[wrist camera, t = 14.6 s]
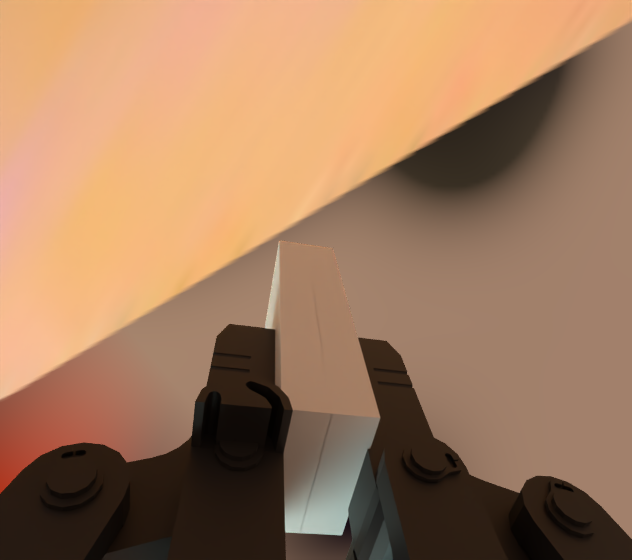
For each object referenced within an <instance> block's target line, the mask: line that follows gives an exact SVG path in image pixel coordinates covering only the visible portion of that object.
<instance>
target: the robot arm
mask: <svg viewBox="0 0 632 560" xmlns="http://www.w3.org/2000/svg"><path fill="white" fill-rule="evenodd" d="M348 515H349V520H350V526H351V532H352V539H353V540H352V543H351V546H350V549H349V552H348V555H347V558H346V560H632V539H631V538H630V537H629V536H628V535H627V534H626V533H625V532H624V530H623V529H622V528H621V527H620V526H619V525H618V524H617V523H616V522H615V521H614V520H613V519H612V518H611V517H610V515H609V514H608V513H607V512H606V511H605V510H604V509H603V508H602V507H601V506H600V505H599V504H598V503H596V502H595V501H594V500H593V499H592V498H591V497H590V496H589V495H588V494H586V493H585V492H584V491H582V490H580V489H578V488H577V487H575V486H573V485H572V484H570V483H568V482H566V481H562V480H560V479H557V478H554V477H551V476H535V477H533V478H531V479H529V480H527V481H526V482H525V484H524V486H523V488H522V490H521V491H520V493H517V492H514V491H512V490H509V489H506V488H503V487H500V486H497V485H494V484H492V483H489V482H485V481H483V480H481V479H478V478H476V477H474V476H471V475H469V473H468V470H467V468H466V466H465V465H464V463H463V462H462V460H461V459H460V458H459V456H458V454H457V453H455V452H454V451H453V450H452V449H451V448H450V447H448V446H447V445H446V444H445V443H443V442H441V441H439V440H437V439H435V438H434V437H433V435H432V432H431V430H430V427H429V425H428V422H427V420H426V418H425V415H424V412H423V410H422V407H421V405H420V402H419V400H418V398H417V395H416V392H415V390H414V388H412V382H411V380H410V377H409V376H408V375H407V370H406V368H405V365H404V363H403V360H402V358H401V356H400V355H399V353H398V352H397V351H396V350H395V349H394V348H393V347H392V346H391V345H390V344H389V343H388V342H387V341H382V340H373V339H365V338H358V337H357V333H356V329H355V326H354V322H353V318H352V315H351V311H350V308H349V304H348V301H347V297H346V293H345V290H344V286H343V283H342V279H341V276H340V272H339V268H338V265H337V261H336V258H335V254H334V251H333V248H327V247H320V246H314V245H307V244H300V243H293V242H287V241H279V245H278V252H277V257H276V263H275V269H274V276H273V281H272V287H271V293H270V299H269V305H268V311H267V317H266V323H265V328H259V327H251V326H243V325H242V326H241V325H234V324H229V325H228V326H227V327H226V328H225V329H224V330H223V331H222V332H221V333H220V334H219V335H218V336H217V338H216V343H215V348H214V353H213V358H212V362H211V368H210V372H209V377H208V382H207V386H206V387H204V388H203V389H202V390H201V392H200V394H199V396H198V398H197V399H196V401H195V410H194V421H193V431H192V436H191V438H190V439H189V440H188V441H186V442H185V443H184V444H182V445H181V446H180V447H179V448H177V449H175V450H173V451H171V452H169V453H167V454H164V455H160V456H156V457H153V458H149V459H143V460H138V461H133V462H126V461H125V460H124V458H123V457H122V456H121V454H120V453H119V452H117V451H115V450H113V449H111V448H109V447H107V446H105V445H101V444H92V443H79V444H73V445H67V446H62V447H59V448H57V449H55V450H52V451H50V452H48V453H45V454H43V455H41V456H40V457H38V458H37V459H36V460H35V461H33V462H32V463H31V464H30V465H28V466H27V467H26V468H24V469H23V470H22V471H21V472H20V473H19V474H18V476H17V477H16V478H15V479H14V480H13V481H12V482H11V483H10V484H9V485H8V486H7V487H6V488H5V489H4V490H3V491H2V492H1V494H0V560H286V552H285V551H286V550H285V532H293V533H310V534H329V535H342V533H343V530H344V527H345V524H346V521H347V518H348Z"/></svg>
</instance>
